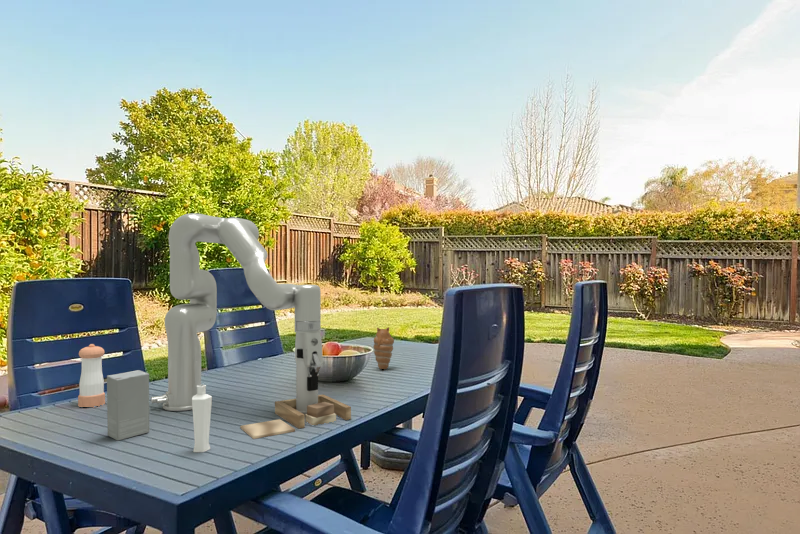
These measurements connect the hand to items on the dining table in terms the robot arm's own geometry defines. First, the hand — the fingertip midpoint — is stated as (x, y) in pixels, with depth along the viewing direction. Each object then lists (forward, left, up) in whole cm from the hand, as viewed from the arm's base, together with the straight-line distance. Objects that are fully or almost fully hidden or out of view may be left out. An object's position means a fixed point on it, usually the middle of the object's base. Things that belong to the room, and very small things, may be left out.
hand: (307, 387), depth 152 cm
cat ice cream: (+54, +45, -8) cm, 71 cm away
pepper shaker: (-52, +48, -8) cm, 71 cm away
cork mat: (-15, -8, -8) cm, 19 cm away
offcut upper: (0, -9, -6) cm, 11 cm away
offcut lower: (0, -9, -8) cm, 12 cm away
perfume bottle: (-33, -14, -8) cm, 37 cm away
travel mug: (0, 0, -8) cm, 8 cm away
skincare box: (-46, +8, -8) cm, 47 cm away
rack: (0, -3, -8) cm, 8 cm away
